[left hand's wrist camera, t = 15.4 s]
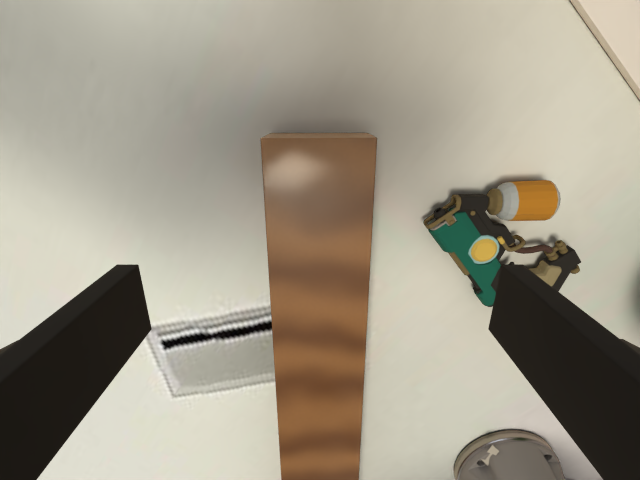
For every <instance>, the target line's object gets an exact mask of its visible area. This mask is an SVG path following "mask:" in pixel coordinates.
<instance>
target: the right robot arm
mask: <svg viewBox="0 0 640 480" xmlns="http://www.w3.org/2000/svg"><path fill="white" fill-rule="evenodd" d="M454 476H455V479H456V480H565V478H564V475H563V472H562V469H561V465H560V462H559V460H558V458H557V456H556V455H555V453H554V452H553V450H552V449H551V447H550V446H549V444H548V443H547V442H546V441H545V440H544V439H542V438H541V437H539V436H537V435H535V434H533V433H530V432H526V431H519V430H507V431H499V432H495V433H491V434H488V435H485V436H483V437H481V438H479V439H477V440H475V441H474V442H472V443H471V444H469V445H468V446H467V447H466V448H465V449H464V450H463V451H462V452H461V453H460V455H459V456H458V458H457V460H456V462H455V466H454Z"/></svg>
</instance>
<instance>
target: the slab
mask: <svg viewBox="0 0 640 480" xmlns="http://www.w3.org/2000/svg"><path fill="white" fill-rule="evenodd" d="M376 146H377V138H376V137H374V136H372V135H370V134H368V133H270V134H268V135H266V136H264V137H262V138H261V153H262V169H263V185H264V202H265V218H266V234H267V251H268V267H269V283H270V299H271V316H272V332H273V348H274V365H275V381H276V397H277V413H278V430H279V446H280V462H281V479H282V480H358V479H359V461H360V442H361V424H362V405H363V387H364V368H365V350H366V331H367V313H368V294H369V276H370V257H371V239H372V220H373V202H374V183H375V165H376Z"/></svg>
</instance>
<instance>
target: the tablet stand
mask: <svg viewBox="0 0 640 480" xmlns="http://www.w3.org/2000/svg"><path fill="white" fill-rule="evenodd" d="M570 1H571V2H572V4H573V5H574V7H575V8H576V10H577V11H578V12H579V14H580V15H581V17H582V18H583V20H584V21H585V22H586V24H587V25H588V27H589V28H590V30H591V31H592V32H593V34H594V35H595V37H596V38H597V40H598V41H599V42H600V44H601V45H602V47H603V48H604V50H605V51H606V52H607V54H608V55H609V57H610V58H611V60H612V61H613V62H614V64H615V65H616V67H617V68H618V70H619V71H620V73H621V74H622V75H623V77H624V78H625V80H626V81H627V83H628V84H629V85H630V87H631V88H632V90H633V91H634V93H635V94H636V95H637V97H638V98H639V100H640V0H570Z"/></svg>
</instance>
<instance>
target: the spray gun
mask: <svg viewBox="0 0 640 480" xmlns="http://www.w3.org/2000/svg"><path fill="white" fill-rule="evenodd" d="M454 204H456V207H455V208H451V209H449V212H448V211H447V209H448V208H450V207H451V206H453V205H454ZM559 205H560V193H559V191H558V189H557V187H556V185H555V184H554V183H553V182H552V181H548V180H538V181H514V182H506V183H502V184H501V185H499V186H498V187H497V188H496V189H491V190H489V192H488V193H487V196H486V195H483V194H458V195H452V197H451V202H450V203H449V204H447V205H446V206H444V207H443V208H438V209H436V210H435V211H434V214H432V215H431V216H429V217H428V218H427V219H425V220H424V225H425V226H426V228H428V229H429V232H430V233H431V235H432V236H433V237H434V239H435V240H436V241H437V243H438V244H439V246H440V247H441V248H442V250H443V251H445V252H448V253H449V254H450V256H451V257H452V258H453V260H454V261H455V263H456V264H457V265H458V267H459V268H460V269H461V271H462V272H463V273H464V275H467V276H468V277H469V278H470V280H471V281H472V283H473V284H474V285H475V287H474V288H473V289H474V292H475V294H476V295H477V297H478V298H479V300H480V301H481V302H482V304H484V305H485V306H488V307H492V306H493V305H494V300H495V295H496V290H497V285H498V281H499V276H500V271H501V264H500V263H499V260H500V258H501V256H502V255H503V253H504V251H505V250H507V251H510V252H512V251H515V252H517V253H523V254H524V253H534V252H539V251H544V253H545V255H546V256H547V257H546V258H544V259H543V260H542V261H540V262H539V264H538V267H537V268H532V269H529V270H530V271H532V272H533V273H534V274H536V275H537V276H538V277H540V278H541V279H542V280H543V281H545V282H546V283H547V284H549V285H550V286H551V287H553V288H554V289H555V290H556V291H559V290H560V288H561V286H562V285H563V283H564V282H565V280H566V278H567V277H568V275H569V273H570V272H571V273H572V274H575V273H578V272H579V271H580V269H579V266H578V265H577V264H579V263H581V261H580V259H579V257H578V255H577V254H576V252H575V250H574V249H572V248H571V247H569V246H568V245H566V244H565V243H564V242H563V241H561V240H558V241H556V242H555V247H553V248H551V247H549V246H547V245H538V246H533V247H526V248H525V247H523V246H524V245H525V243H526V242H525V240H524V239H523V238H522V237H520V236H519V235H514V236H512V235H511V234H510V232H509V230H508V229H507V227H506V226H505V225H503V224H499V223H495V222H491V220H490V219H489V217H488V216H487V214H486V213H485V211H486V210H487V211H488V213H489V214H491V215H496V216H497V217H498V218H500V219H503V220H507V221H534V220H547V219H550V218H552V217H553V216H554V214H555V213H556V212H557V210H558V208H559ZM433 218H436V221H434V222H433V223H431V224H429V225H427V223H428V222H429V221H430V220H432V219H433ZM515 239H517V240H519V241H520V244H518V245H515V243H514V242H515ZM557 250H558V251H557ZM508 265H514V262H510V264H508Z"/></svg>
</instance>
